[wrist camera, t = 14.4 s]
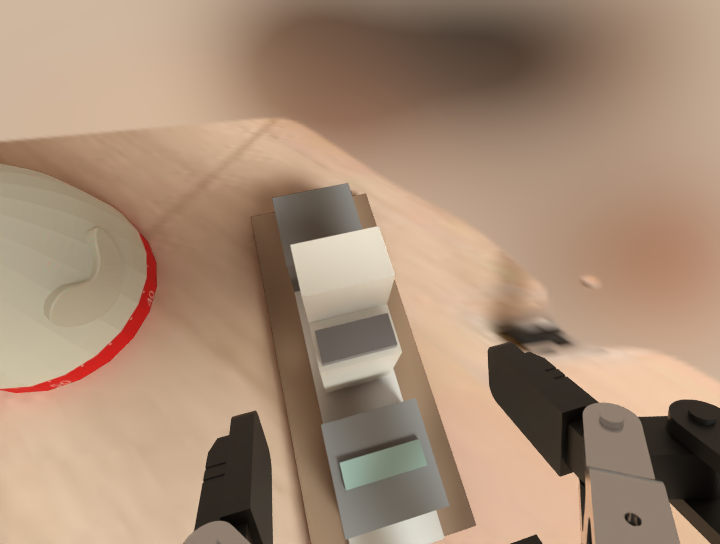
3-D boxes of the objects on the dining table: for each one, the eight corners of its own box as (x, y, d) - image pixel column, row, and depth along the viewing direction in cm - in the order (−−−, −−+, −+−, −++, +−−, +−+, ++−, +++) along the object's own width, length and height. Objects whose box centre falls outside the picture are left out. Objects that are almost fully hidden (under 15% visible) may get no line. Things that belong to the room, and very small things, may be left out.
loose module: (325, 393, 24) (314, 356, 15) (309, 317, 26) (290, 244, 17) (388, 376, 25) (413, 331, 16) (367, 303, 27) (378, 225, 18)
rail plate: (319, 571, 22) (310, 611, 16) (254, 227, 31) (234, 176, 26) (468, 521, 23) (508, 542, 18) (365, 204, 33) (369, 151, 27)
